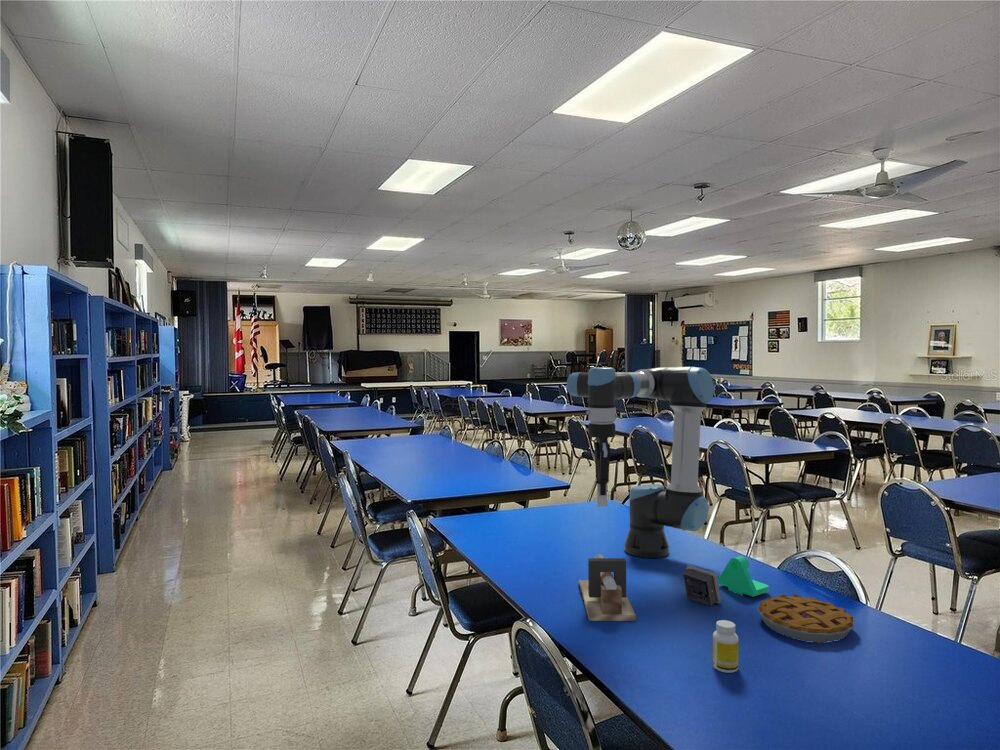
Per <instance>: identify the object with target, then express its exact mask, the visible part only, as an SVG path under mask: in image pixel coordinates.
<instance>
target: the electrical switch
mask: <svg viewBox="0 0 1000 750" xmlns="http://www.w3.org/2000/svg"><path fill="white" fill-rule="evenodd" d="M685 567H686V568H685V569H686V571H685V572H684V573H682V575H683V582H684V587H685V593H686V597H687V598H688V599H691V600H693V601H696V602H698V601H699V603H701V602H702V603H701V604H704V603H706V604H708V605H707V606H709V605H711V606H710V607H712V606H713V605H715V604H717V603H718V605H719V604H720V603H721V602H722V598H721V593H720V587H719V584H718V576H717V574H716V573H715V572H714V571H713V572H712V571H709V570H707V569H703V568H700V567H697V566H693V565H689V564H688V565H687V566H685ZM706 604H705V605H706Z"/></svg>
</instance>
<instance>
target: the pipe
mask: <svg viewBox="0 0 1000 750" xmlns="http://www.w3.org/2000/svg"><path fill="white" fill-rule="evenodd" d="M594 558H605V557H604V555H602V554H599V553H598V554H596V555H595V556H594ZM600 576H601V580H602V582H603V584H604V585H605V587H606V591H607V590H615V591H616V590H618V587H617V585H616V583H615V581H614V574H613V573H612V572H600ZM617 592H618V591H617ZM611 593H612V592H611ZM615 594H616V593H615ZM609 595H610V594H609ZM612 595H613V594H612Z"/></svg>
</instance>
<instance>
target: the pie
mask: <svg viewBox="0 0 1000 750" xmlns="http://www.w3.org/2000/svg"><path fill="white" fill-rule="evenodd" d="M756 610H757V612H758V613H759V615H760V616H761V619H762V621H763V623H764V624H765V626H766V627H767V626H768V627H767V628H769V627H770V628H772V629H773V630H772V629H771V630H772V631H774V630H775V631H776V632H775V631H774V632H775V633H777V632H779V633H781V634H784V635H786V636H789V637H791V638H795V639H800V640H804V641H813V642H827V641H834V640H839V639H841V638H843V637H845V636H846V637H847V636H848V634H849V633H850V631H851V630H853V629H854V626H855V624H856V621H855V620H854V617H853V615H852V614H850V613H847V611H846V609H845V608H843V607H841V606H840V607H837V606H835V605H834V604H833V603H830V602H829V601H821V600H818V598H816V597H812V596H811V597H804V596H802V595H798V594H793V595H792V596H789V595H787V594H779V595H778V596H776V597H775V596H768V597H766V600H761V601H760V604H759V605H758V606H757V608H756ZM770 628H769V629H770ZM781 634H780V635H781ZM784 635H783V636H784ZM786 636H785V637H786ZM789 637H788V638H789ZM791 638H790V639H791ZM839 641H840V640H839Z"/></svg>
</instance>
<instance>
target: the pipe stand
mask: <svg viewBox="0 0 1000 750" xmlns="http://www.w3.org/2000/svg"><path fill="white" fill-rule="evenodd" d="M600 583H603V582H602V580H601V576H600ZM579 586H580V587H579ZM578 587H579V590H580V593H582V594H581V597H582V600H584V601H583V603H584V604H583V605H584V607H585V611H586V614H587V617H588V621H590V622H591V621H593V622H596V621H597V622H608V621H609V622H610V621H612V622H613V621H614V622H633V621H634V622H635V621H637V615H636V613H635V610H634V608H633V606H632V604H631V602H630V600H629V598H628V596H627V595H626V598H622V589H621V587H620V585H617V587H618V590H616V591H615V590H607V591H606V587H605V585H601V598H589V595H588V579H584V580H583V579H581V580H580V579H579V580H578ZM617 591H618V592H617ZM611 592H612V593H611ZM615 593H616V594H615ZM609 594H610V595H609ZM612 594H613V595H612Z"/></svg>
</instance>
